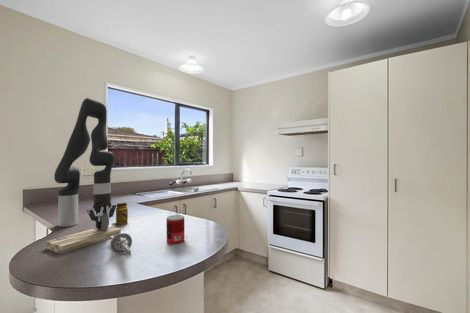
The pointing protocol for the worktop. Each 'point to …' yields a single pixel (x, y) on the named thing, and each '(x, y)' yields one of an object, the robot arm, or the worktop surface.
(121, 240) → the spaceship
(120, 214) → the condiment
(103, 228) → the fader knob
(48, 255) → the worktop surface
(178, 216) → the canned food
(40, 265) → the worktop surface
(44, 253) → the worktop surface
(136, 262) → the worktop surface
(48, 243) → the wooden board
